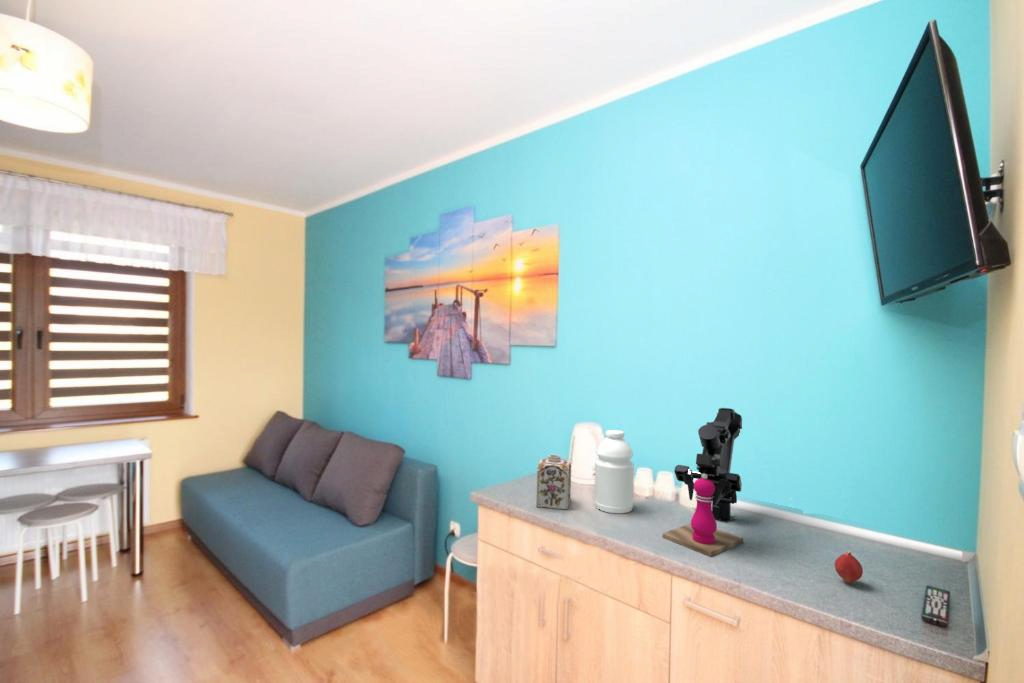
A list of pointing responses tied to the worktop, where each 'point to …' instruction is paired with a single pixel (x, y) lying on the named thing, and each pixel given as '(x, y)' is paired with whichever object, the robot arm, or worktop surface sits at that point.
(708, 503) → the pepper mill
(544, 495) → the decorative jar
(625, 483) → the bottle
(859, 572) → the onion
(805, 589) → the worktop surface
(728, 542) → the tan cloth
